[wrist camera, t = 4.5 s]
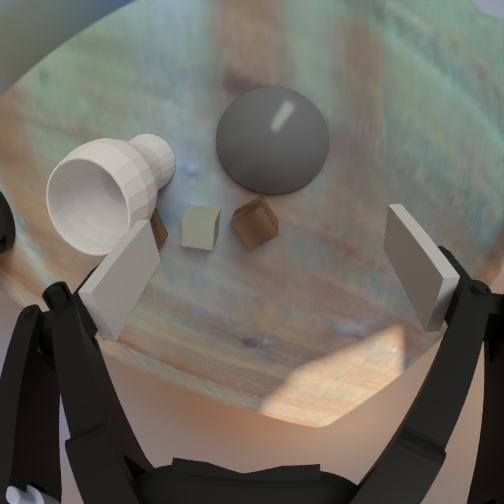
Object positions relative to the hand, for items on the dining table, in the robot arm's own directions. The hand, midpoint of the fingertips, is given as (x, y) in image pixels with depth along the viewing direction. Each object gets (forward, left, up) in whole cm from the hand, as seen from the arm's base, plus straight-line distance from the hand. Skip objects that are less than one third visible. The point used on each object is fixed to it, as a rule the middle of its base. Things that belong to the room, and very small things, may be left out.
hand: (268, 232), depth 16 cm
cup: (-16, +1, -21) cm, 26 cm away
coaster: (0, +1, -21) cm, 21 cm away
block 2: (-10, -8, -21) cm, 25 cm away
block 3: (-3, -8, -21) cm, 23 cm away
